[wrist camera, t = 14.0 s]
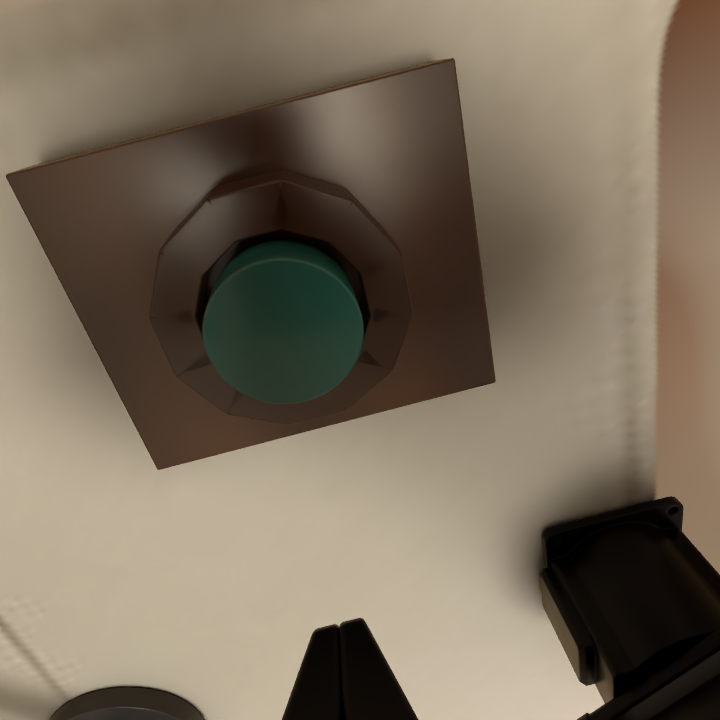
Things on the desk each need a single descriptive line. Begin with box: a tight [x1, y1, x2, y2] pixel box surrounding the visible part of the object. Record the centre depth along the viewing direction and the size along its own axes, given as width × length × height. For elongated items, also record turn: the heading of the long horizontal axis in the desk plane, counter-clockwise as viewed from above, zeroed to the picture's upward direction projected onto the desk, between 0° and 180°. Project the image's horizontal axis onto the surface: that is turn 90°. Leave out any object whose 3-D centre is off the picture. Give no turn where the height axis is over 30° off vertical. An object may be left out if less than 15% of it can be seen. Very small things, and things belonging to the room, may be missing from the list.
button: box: [202, 240, 364, 404], centre depth 14 cm, size 4×4×2 cm
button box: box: [6, 58, 496, 470], centre depth 17 cm, size 12×10×4 cm
